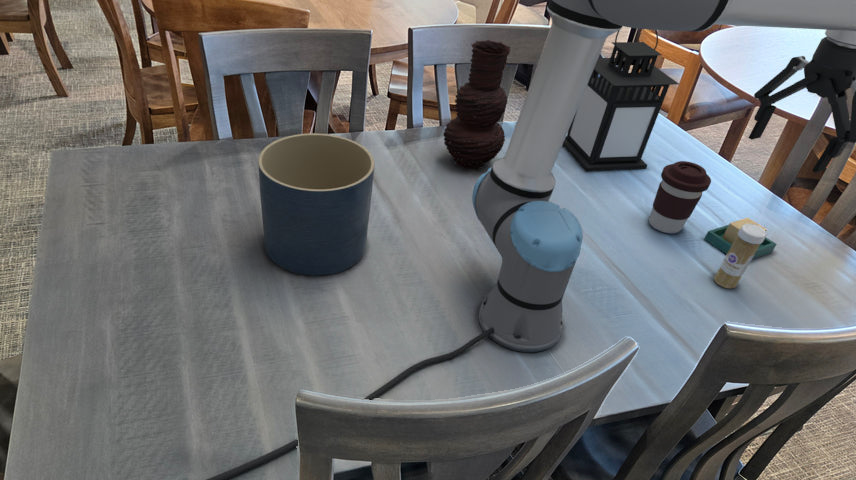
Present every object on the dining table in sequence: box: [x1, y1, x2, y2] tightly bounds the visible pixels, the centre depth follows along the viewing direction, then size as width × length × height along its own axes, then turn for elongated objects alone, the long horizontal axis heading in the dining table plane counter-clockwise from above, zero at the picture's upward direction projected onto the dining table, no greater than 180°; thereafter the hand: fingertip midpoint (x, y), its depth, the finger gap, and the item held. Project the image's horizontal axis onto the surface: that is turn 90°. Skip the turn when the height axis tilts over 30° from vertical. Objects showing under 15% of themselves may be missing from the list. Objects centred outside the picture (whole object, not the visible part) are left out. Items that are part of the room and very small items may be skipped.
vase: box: [442, 39, 511, 171], centre depth 154 cm, size 15×15×30 cm
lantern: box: [562, 30, 680, 173], centre depth 160 cm, size 17×17×35 cm
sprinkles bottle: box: [713, 224, 768, 289], centre depth 126 cm, size 5×5×13 cm
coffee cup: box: [648, 160, 712, 234], centre depth 141 cm, size 10×10×15 cm
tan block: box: [722, 217, 768, 245], centre depth 139 cm, size 6×5×4 cm
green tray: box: [704, 224, 778, 260], centre depth 140 cm, size 11×10×2 cm
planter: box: [257, 132, 375, 277], centre depth 127 cm, size 22×22×20 cm
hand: (785, 153), depth 121 cm, fingers open, 13 cm apart
